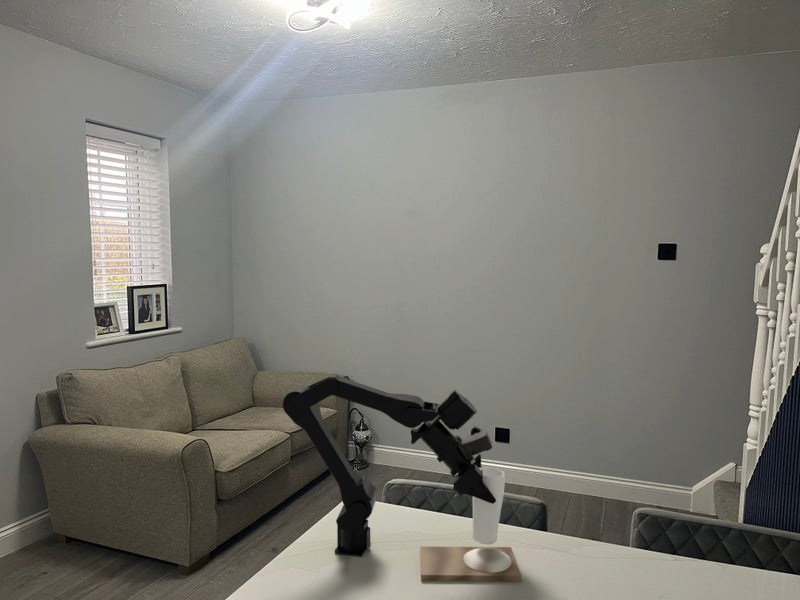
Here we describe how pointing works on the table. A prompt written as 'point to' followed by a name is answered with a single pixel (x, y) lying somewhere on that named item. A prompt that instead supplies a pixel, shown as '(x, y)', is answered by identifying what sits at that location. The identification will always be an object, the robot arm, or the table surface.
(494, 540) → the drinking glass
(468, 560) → the walnut board
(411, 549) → the table surface
